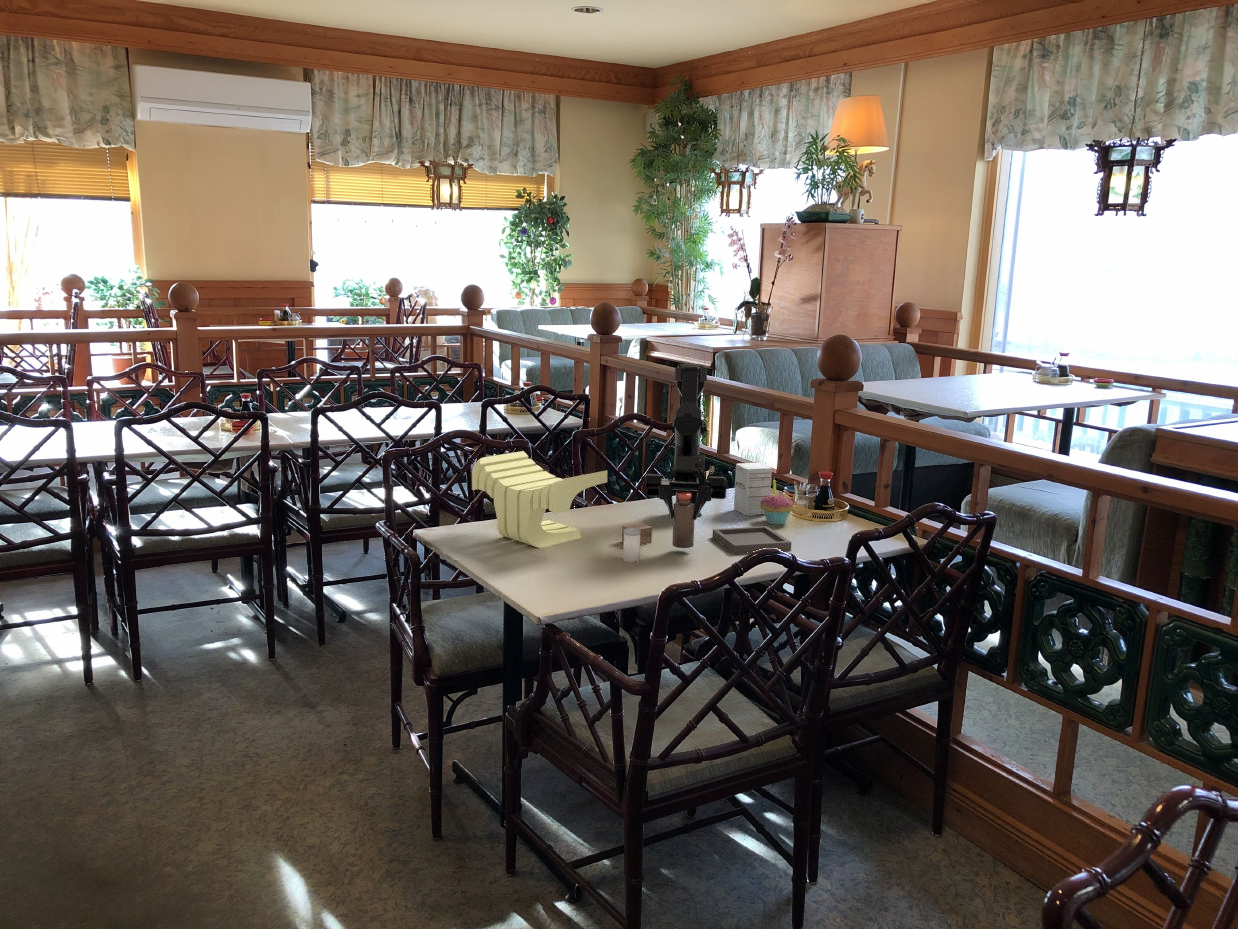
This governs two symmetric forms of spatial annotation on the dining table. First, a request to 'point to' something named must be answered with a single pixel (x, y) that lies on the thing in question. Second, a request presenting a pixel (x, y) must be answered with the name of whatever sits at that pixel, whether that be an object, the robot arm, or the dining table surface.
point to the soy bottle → (683, 521)
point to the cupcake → (776, 507)
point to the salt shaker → (631, 544)
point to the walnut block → (644, 532)
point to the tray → (750, 539)
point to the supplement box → (751, 487)
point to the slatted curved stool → (529, 497)
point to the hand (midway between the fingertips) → (683, 518)
